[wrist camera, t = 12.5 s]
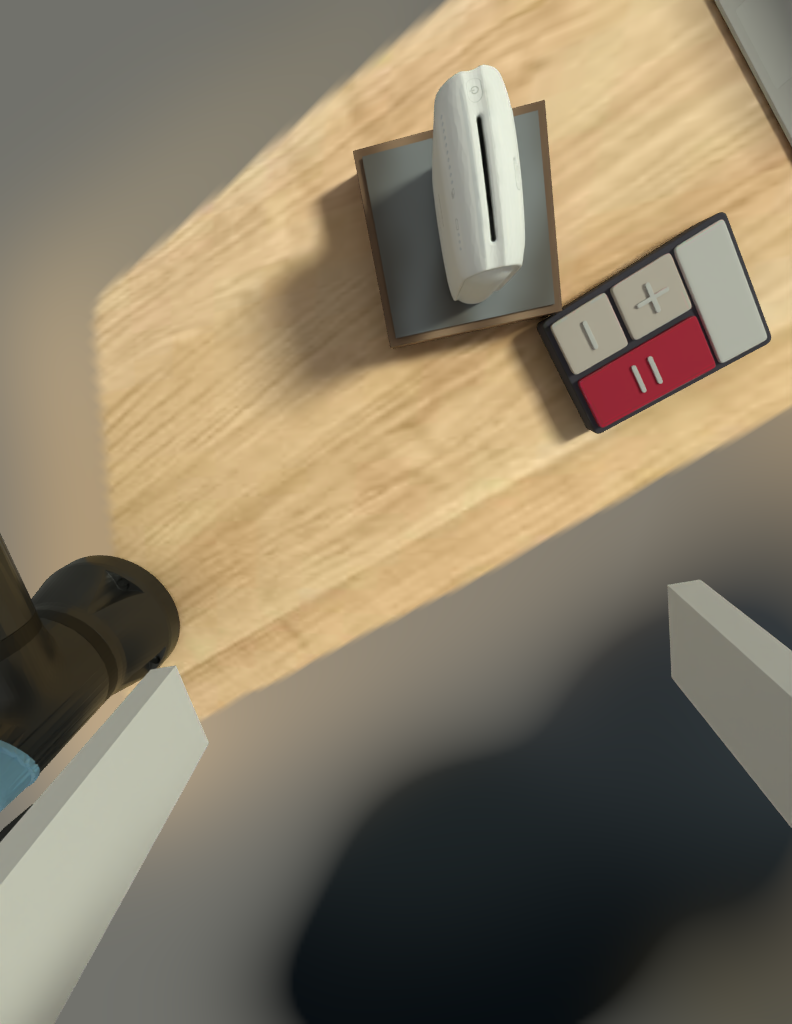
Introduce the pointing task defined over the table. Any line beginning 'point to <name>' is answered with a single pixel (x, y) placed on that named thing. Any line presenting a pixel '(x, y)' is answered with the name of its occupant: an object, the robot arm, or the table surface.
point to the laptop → (765, 49)
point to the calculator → (657, 326)
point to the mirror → (417, 249)
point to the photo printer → (477, 184)
